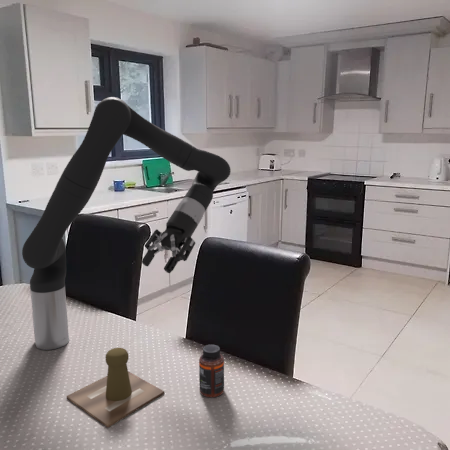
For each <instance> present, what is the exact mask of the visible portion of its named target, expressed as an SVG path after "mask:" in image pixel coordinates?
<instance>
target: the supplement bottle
mask: <svg viewBox="0 0 450 450" xmlns="http://www.w3.org/2000/svg"><path fill="white" fill-rule="evenodd" d="M220 350H221V347H220V346H219V345H216V344H206V345H205V346H203V348H202V354H201V355H200V357H199V359H198V363H199V364H198V369H199V370H198V372H199V373H198V374H199V375H198V378H199V393H200V395H202V396H204V397H206V398H217V397H220V396H221V395H222V394H223V393H224V391H225V358H224V356H223V354H222V353H221V351H220Z"/></svg>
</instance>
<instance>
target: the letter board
mask: <svg viewBox="0 0 450 450" xmlns="http://www.w3.org/2000/svg"><path fill="white" fill-rule="evenodd" d="M128 374H129V379H130V384H131V390H132V393H131V395H130V396H129V397H128V398H126V399H124V400H121V401H112V400H109V399H107V398H106V385H107V375H106V376H104V377H102V378H100V379H98V380H96V381H94V382H91V383H90V384H88V385H86V386H84V387H82V388H80V389H77V390H76V391H74V392H72V393H70V394H68V395H66V399H67V400H68V401H70V402H71V403H73V404H74V405H76V406H77V407H78V408H79V409H81V410H82V411H84V412H85V413H86V414H88V415H89V416H90V417H92V418H94V419H95V420H96V421H98V422H99V423H101V424H102V425H103V426H105V427H106V428H111V426H113V425H115V424H116V423H118V422H120V421H122V420H124V419H125V418H126V417H128V416H130V415H132V414H133V413H135V412H136V411H138V410H139V409H141V408H143V407H145V406H146V405H148V404H149V403H151V402H153V401H154V400H157V399H158V398H159V397H161V396H163V395H165V391H164V390H163V389H161V388H159V387H158V386H156V385H154V384H153V383H150V382H148V381H146V380H145V379H143V378H141V377H140V376H137V375H135V374H134V373H132V372H130V371H129V370H128Z"/></svg>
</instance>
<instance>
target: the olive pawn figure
mask: <svg viewBox="0 0 450 450" xmlns="http://www.w3.org/2000/svg"><path fill="white" fill-rule="evenodd" d="M128 361H129V353H128V350H126V348H122V347H115V348H114V347H113V348H111V349H109V350H108V351H107V352H106V354H105V363H106V365H107V375H106V376H107V385H106V398H107V399H109V400H112V401H121V400H124V399H126V398H128V397H129V396H130V395H131V393H132V390H131V384H130V379H129V374H128V371H129V369H128V365H127V363H128Z"/></svg>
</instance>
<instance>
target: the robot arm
mask: <svg viewBox="0 0 450 450" xmlns="http://www.w3.org/2000/svg"><path fill="white" fill-rule="evenodd" d="M123 135H124V136H126V137H129V138H131V139H132V140H135V141H137V142H139V143H141V144H142V145H144V146H145V147H147V148H148V149H150V150H151V151H152V152H155V154H157V155H158V156H159V157H161V158H162V159H164V160H166V161H167V162H169V163H171V164H173V165H174V166H176V167H179V168H180V169H182V170H184V171H187V172H190V171H196V172H197V174H196V175H195V177H194V179H193V182H192V185H191V186H190V188H189V189H188V190H187V191H186V194H184V197H183V198H182V200H181V201H180V202H179V203H178V205H177V206H176V208H175V210H174V211H173V212H172V214H171V215H170V217H169V219H168V220H167V222H166V224H165V226H166V228H165V230H163V232H161V231H160V230H159V229H157V228H156V229H155V230H154V231H153V232H152V234H151V235H150V237H149V238H148V240H147V241H146V242H145V244H144V247H145V249H146V250H147V251H146V253H145V254H144V255H143V258H142V260H141V263H142V264H143V265H144V266H145V267H149V266H150V264H151V263H152V261H153V260H154V258H155V255H157V254H158V253H161V252H164V251H170V252H171V256H170V258H169V259H168V260H167V262H166V264H165V266H164V267H163V270H164V271H165V273H167V274H171V273H172V272H173V271H174V270H175V268H176V266H177V264H178V263H179V262H181V261H183V262H187V260H188V258H189V256H190V254H191V252H192V251H193V249H194V248H195V247H194V246H195V245H196V241H195V240H194V239H193V238H192V236H193V234H194V232H196V229H197V228H198V226H199V224H200V222H201V220H202V219H203V217H204V215H205V212H206V211H207V209H208V207H209V206H210V205H211V202H212V200H213V197H214V191H215V190H216V188H217V186H218V185H220V184H222V183H223V182H224V181H226V180H228V178H229V177H230V175H231V166H230V164H229V162H228V161H226V159H225V158H223V157H222V156H220V155H218V154H215V153H212V152H209V151H208V150H203V149H200V148H197V147H195V146H194V145H193V144H191V143H189V142H186V141H185V140H183V139H182V138H179V137H178V136H176V135H174V134H173V133H170V132H168V131H167V130H164V129H163V128H161V127H159V126H157V125H155V124H154V123H152V122H151V121H149V120H147V119H146V118H145V117H143V116H141V115H140V114H139V113H138V112H136V110H134V109H133V108H131V106H129V105H128V104H127V103H126V102H125V101H124V100H123V99H120V98H119V97H115V96H108V97H106V98H104V99H102V100H101V101H99V103H97V105H96V106H95V108H94V111H93V115H92V118H91V120H90V123H89V126H88V129H87V131H86V134H85V136H84V138H83V140H82V142H81V144H80V145H79V147H78V148H77V149H76V151H75V152H74V154H73V155H72V156H71V158H70V159H69V161H68V163H67V164H66V166H65V168H64V169H63V171H62V173H61V175H60V176H59V177H60V178H59V179H58V181H57V183H56V185H55V188H54V190H53V192H52V194H51V195H50V198H49V200H48V202H47V203H46V205H45V209H44V211H43V213H42V215H41V217H40V219H39V220H38V222H37V224H36V225H35V227H34V228H33V229H32V231H31V233H30V234H29V236H28V237H27V238H26V240H25V242H24V243H23V246H22V251H21V254H22V255H21V256H22V260H23V261H24V263H25V264H26V265H27V266H28V268H29V267H30V268H31V269H33V273H32V275H31V278H30V280H29V287H30V288H29V289H30V299H31V300H30V301H31V309H32V312H31V314H32V324H33V325H32V327H33V334H34V342H35V343H34V344H35V347H36V348H37V349H38V350H43V351H46V350H47V351H48V350H55V349H56V350H57V349H59V348H61V347H64V346H66V345H67V344H68V343H69V341H70V337H69V323H68V322H69V321H68V308H67V296H66V283H65V282H66V276H67V250H66V243H65V241H64V239H63V238H64V235H65V233H66V232H67V229H68V228H69V227H70V225H72V224H73V222H74V221H75V220H76V218H77V217H78V216H79V215H80V213H81V212H82V211H83V210H84V208H85V207H86V205H88V202H89V201H90V199H91V197H92V195H93V193H94V192H95V190H96V187H97V186H98V183H99V181H100V179H101V177H102V174H103V172H104V169H105V166H106V164H107V160H108V159H109V157H110V154H111V153H112V151H113V149H114V148H115V146H116V144H117V143H118V141H119V140H120V138H121V137H122V136H123Z"/></svg>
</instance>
